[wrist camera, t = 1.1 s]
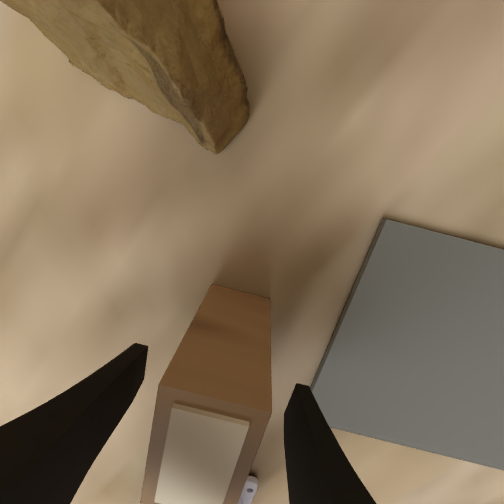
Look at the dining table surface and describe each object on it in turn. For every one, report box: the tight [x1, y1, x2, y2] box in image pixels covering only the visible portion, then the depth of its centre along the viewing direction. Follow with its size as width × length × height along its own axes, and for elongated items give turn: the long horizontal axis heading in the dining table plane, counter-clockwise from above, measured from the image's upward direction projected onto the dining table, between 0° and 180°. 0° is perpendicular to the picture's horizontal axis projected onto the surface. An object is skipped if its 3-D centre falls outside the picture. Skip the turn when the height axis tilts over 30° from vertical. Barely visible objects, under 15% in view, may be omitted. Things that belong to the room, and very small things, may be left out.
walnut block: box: [140, 284, 272, 504], centre depth 11 cm, size 6×4×7 cm, turn 166°
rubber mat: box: [310, 218, 504, 470], centre depth 14 cm, size 14×16×1 cm
